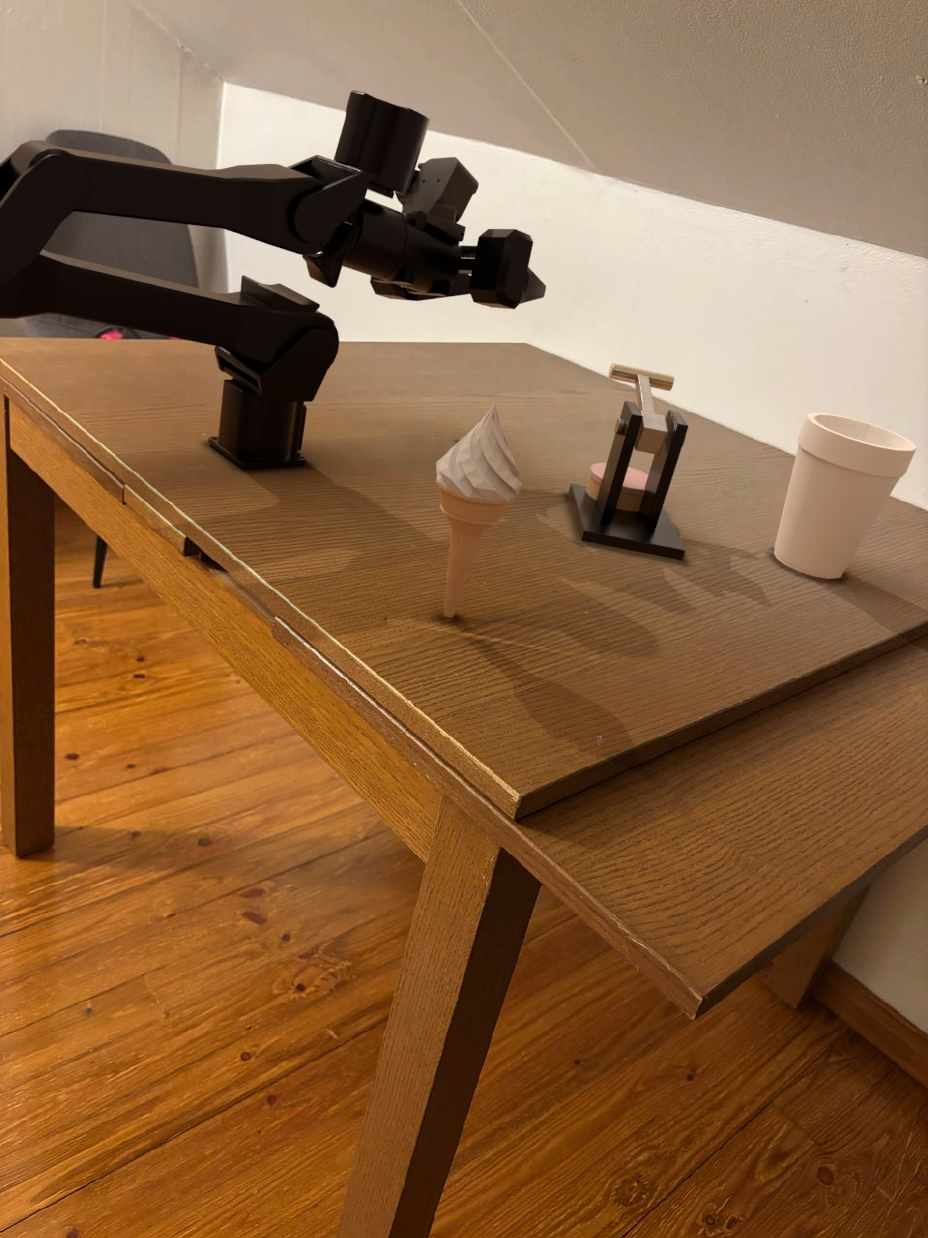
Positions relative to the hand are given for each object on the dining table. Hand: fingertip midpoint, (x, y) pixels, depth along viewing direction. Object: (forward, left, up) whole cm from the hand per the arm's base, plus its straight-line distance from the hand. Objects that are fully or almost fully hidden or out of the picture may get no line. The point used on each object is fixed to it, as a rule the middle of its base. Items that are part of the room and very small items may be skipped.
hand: (509, 289), depth 95 cm
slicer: (0, -21, -16) cm, 26 cm away
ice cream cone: (-28, -29, -16) cm, 43 cm away
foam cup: (+13, -33, -16) cm, 39 cm away
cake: (+3, -17, -16) cm, 24 cm away
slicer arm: (+3, -17, -7) cm, 19 cm away
